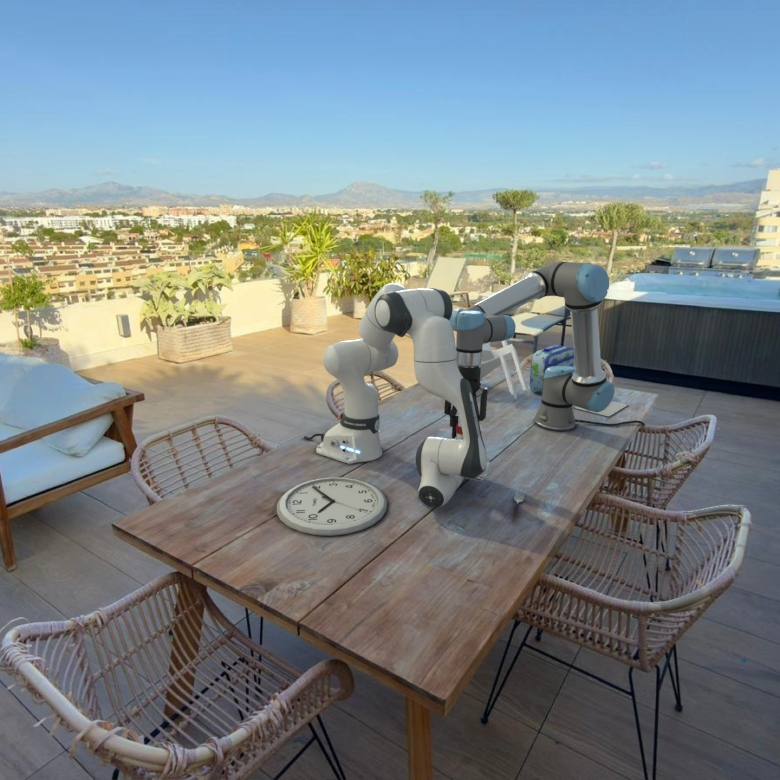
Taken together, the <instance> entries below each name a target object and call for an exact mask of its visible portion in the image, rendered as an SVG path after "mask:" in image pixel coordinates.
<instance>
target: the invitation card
mask: <svg viewBox="0 0 780 780" xmlns="http://www.w3.org/2000/svg"><path fill="white" fill-rule="evenodd" d="M628 406H629V404H627V403H623V402H618V401H614V400H612V401H611V402H610V404H609V405H608V407H607V408H606V409H604V410H603V411H601V412H593V411H588V410H586V409H583V408H580V407H577V406H574V407H573V409H575V410H581V411H584V412H587V413H593V414H596V415H600V416H604V417H608V418H609V417H611V416H613V415H614V414H616V413H617V412H619V411H621V410H623V409H624V408H626V407H628Z"/></svg>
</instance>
